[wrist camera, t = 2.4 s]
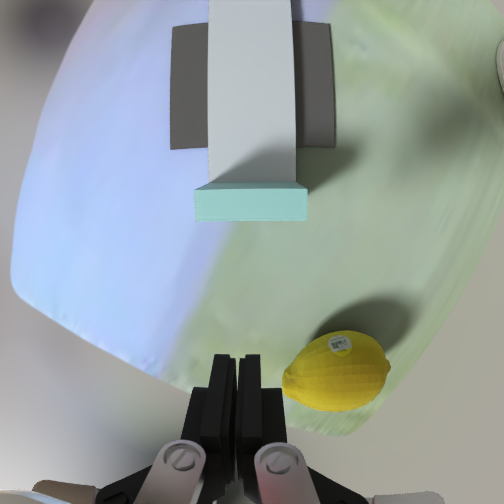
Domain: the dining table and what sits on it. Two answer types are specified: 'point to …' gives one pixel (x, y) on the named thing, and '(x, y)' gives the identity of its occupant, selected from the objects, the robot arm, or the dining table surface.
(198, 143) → the mat
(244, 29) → the sled
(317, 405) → the lemon
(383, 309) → the dining table surface
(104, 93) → the dining table surface
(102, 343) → the dining table surface
